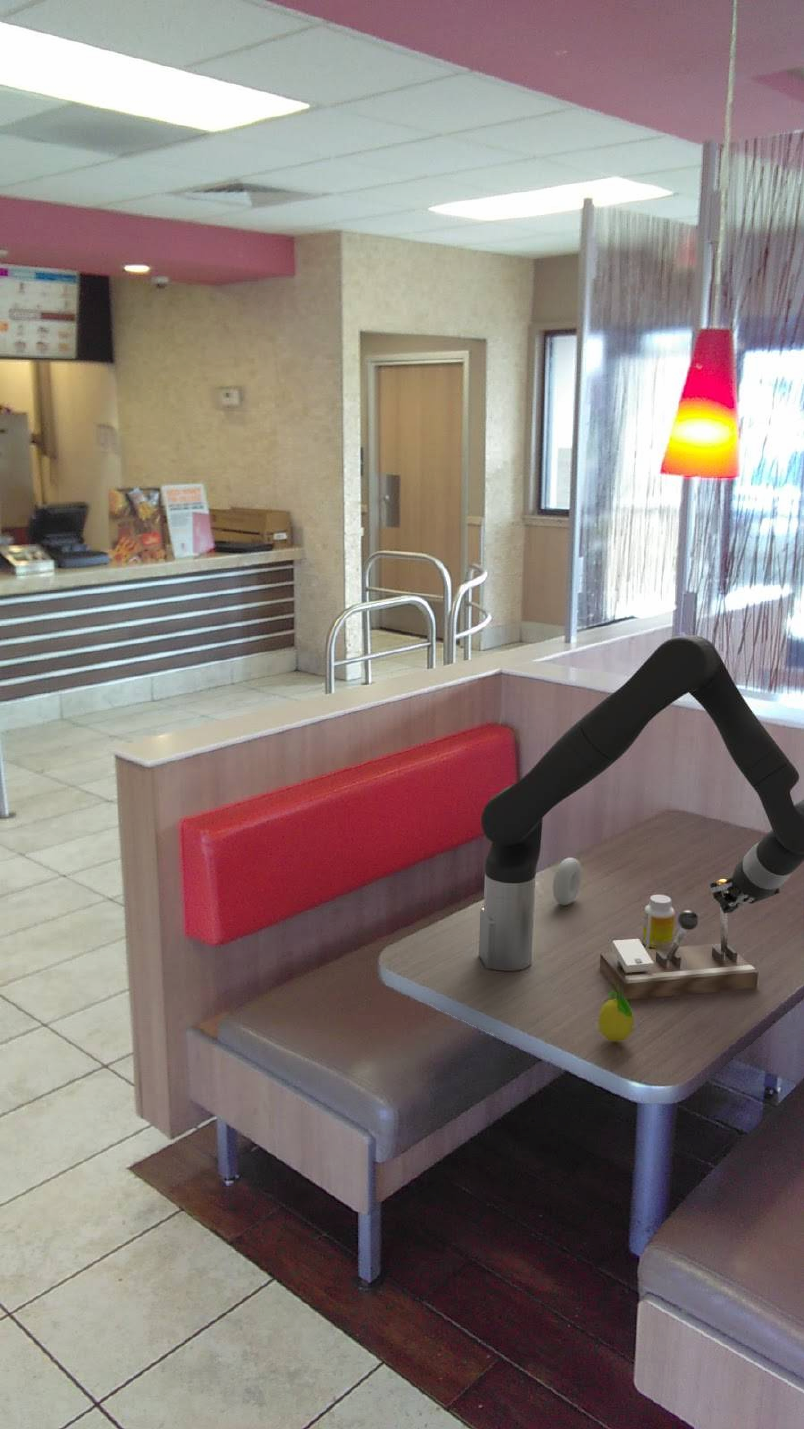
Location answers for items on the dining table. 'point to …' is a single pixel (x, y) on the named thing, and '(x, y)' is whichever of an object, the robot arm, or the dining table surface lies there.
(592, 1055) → the dining table surface
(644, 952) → the block
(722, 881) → the lever orange
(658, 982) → the panel
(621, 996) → the lemon
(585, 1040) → the dining table surface
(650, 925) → the supplement bottle
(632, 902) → the dining table surface
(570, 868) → the donut
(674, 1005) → the dining table surface
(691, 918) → the lever black
